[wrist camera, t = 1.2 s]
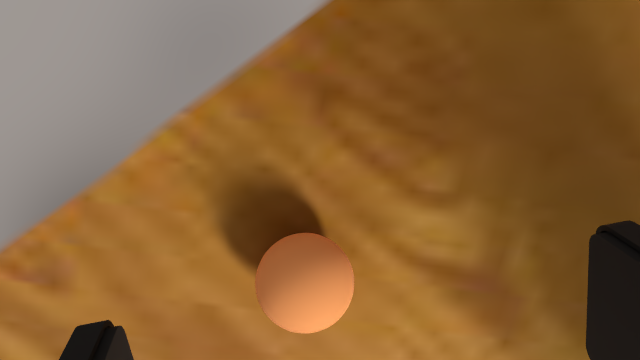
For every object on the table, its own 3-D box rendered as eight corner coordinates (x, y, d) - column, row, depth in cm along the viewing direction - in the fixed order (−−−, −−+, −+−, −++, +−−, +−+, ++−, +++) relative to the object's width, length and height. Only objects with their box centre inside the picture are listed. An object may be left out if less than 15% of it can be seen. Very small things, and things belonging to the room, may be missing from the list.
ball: (338, 209, 32) (353, 249, 27) (352, 289, 34) (369, 341, 28) (246, 228, 32) (244, 272, 26) (266, 308, 33) (267, 364, 28)
